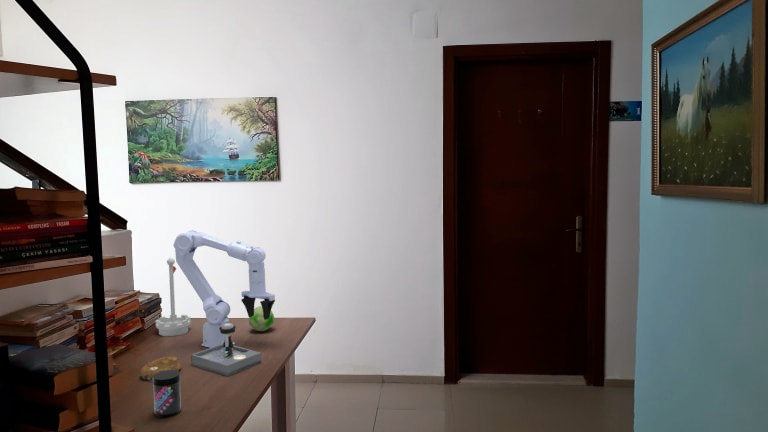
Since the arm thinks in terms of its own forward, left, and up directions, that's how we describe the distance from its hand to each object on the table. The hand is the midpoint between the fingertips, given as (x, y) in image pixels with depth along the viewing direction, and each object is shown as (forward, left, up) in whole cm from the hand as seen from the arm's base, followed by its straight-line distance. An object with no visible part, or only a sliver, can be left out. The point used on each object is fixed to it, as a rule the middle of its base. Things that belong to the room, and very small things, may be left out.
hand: (258, 317), depth 194 cm
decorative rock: (-7, -35, -11) cm, 38 cm away
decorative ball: (-12, +13, -11) cm, 21 cm away
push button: (+3, -17, -8) cm, 19 cm away
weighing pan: (+3, -19, -9) cm, 21 cm away
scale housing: (+5, -19, -10) cm, 22 cm away
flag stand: (-41, -7, -11) cm, 43 cm away
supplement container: (+20, -51, -11) cm, 56 cm away
